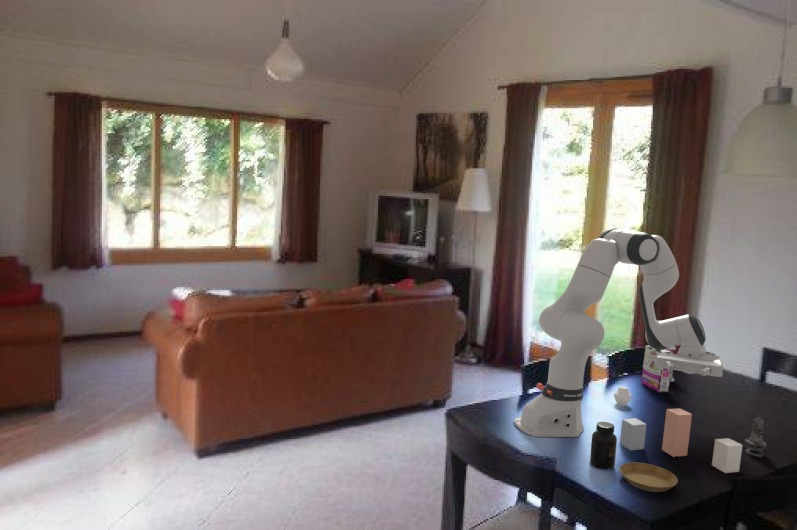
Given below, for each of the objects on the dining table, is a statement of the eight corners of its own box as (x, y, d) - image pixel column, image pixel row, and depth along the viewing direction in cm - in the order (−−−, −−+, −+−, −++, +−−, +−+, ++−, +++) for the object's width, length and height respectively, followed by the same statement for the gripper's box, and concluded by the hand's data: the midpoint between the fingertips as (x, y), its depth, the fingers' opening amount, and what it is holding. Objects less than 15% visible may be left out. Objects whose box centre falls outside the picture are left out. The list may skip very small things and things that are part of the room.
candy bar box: (669, 392, 254) (674, 352, 252) (658, 392, 252) (663, 352, 250) (650, 383, 264) (654, 344, 262) (640, 383, 263) (644, 345, 261)
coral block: (673, 456, 192) (678, 415, 190) (661, 449, 196) (666, 409, 195) (686, 455, 193) (692, 414, 192) (675, 448, 198) (680, 408, 196)
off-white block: (725, 473, 183) (728, 446, 182) (711, 465, 187) (715, 439, 186) (738, 471, 184) (742, 445, 183) (725, 464, 189) (728, 438, 188)
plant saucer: (638, 466, 184) (639, 457, 184) (687, 487, 173) (688, 478, 172) (607, 478, 175) (608, 469, 175) (657, 501, 164) (658, 492, 163)
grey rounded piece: (634, 406, 234) (636, 388, 234) (621, 408, 232) (623, 389, 231) (621, 401, 240) (623, 383, 239) (609, 402, 237) (611, 384, 236)
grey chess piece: (768, 458, 195) (773, 420, 193) (747, 455, 196) (752, 418, 194) (761, 450, 200) (766, 413, 199) (741, 447, 202) (746, 411, 200)
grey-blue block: (630, 450, 195) (632, 425, 194) (619, 443, 199) (622, 419, 198) (643, 449, 196) (646, 424, 195) (633, 442, 201) (635, 418, 200)
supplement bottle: (609, 459, 187) (613, 420, 185) (618, 470, 180) (622, 429, 179) (586, 458, 187) (590, 419, 185) (593, 469, 180) (598, 428, 178)
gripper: (657, 345, 219) (652, 355, 207) (724, 355, 209) (722, 366, 197) (656, 363, 220) (650, 374, 208) (722, 374, 210) (720, 386, 198)
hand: (686, 370), depth 203 cm, fingers open, 8 cm apart
